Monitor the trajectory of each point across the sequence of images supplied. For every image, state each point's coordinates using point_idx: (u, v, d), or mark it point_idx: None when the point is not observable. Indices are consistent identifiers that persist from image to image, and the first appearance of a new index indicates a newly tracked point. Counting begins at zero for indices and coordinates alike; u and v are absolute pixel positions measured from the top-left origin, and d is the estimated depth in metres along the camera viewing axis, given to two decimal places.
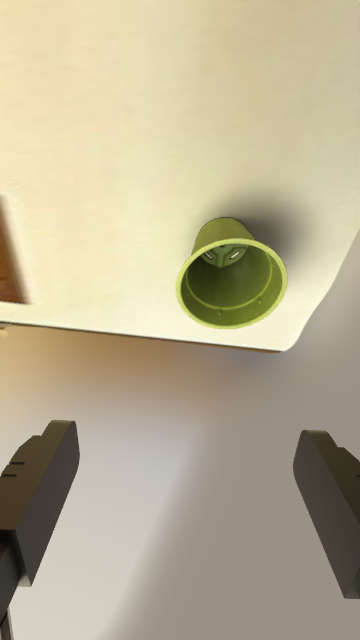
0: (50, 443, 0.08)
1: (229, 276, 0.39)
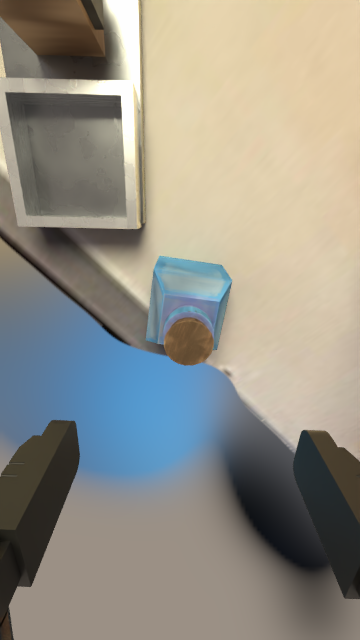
0: (50, 443, 0.08)
1: None
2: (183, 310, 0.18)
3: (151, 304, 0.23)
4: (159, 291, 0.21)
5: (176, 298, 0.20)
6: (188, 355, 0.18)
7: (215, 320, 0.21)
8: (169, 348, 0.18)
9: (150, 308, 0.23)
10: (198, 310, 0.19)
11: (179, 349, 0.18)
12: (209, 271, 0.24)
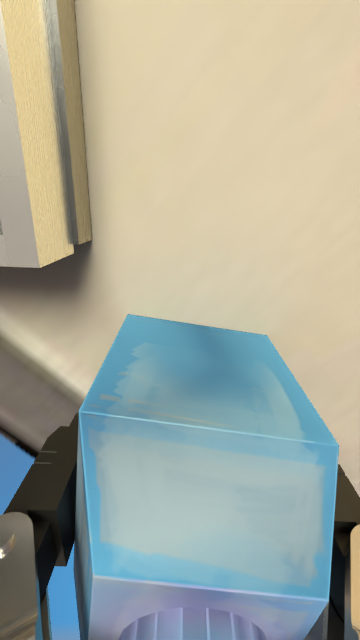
0: None
1: None
2: None
3: (77, 508, 0.07)
4: (85, 520, 0.05)
5: (144, 589, 0.05)
6: None
7: None
8: None
9: (76, 514, 0.07)
10: None
11: None
12: (252, 382, 0.09)
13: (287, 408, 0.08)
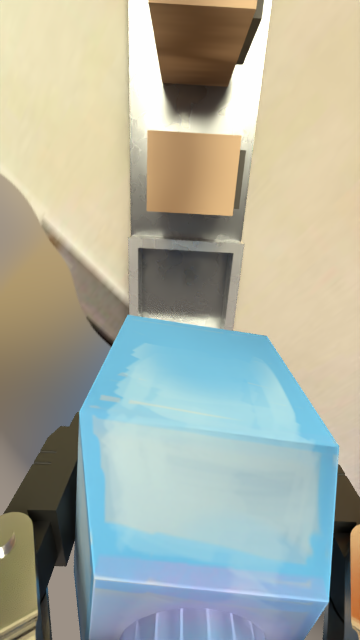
0: None
1: None
2: None
3: (77, 508, 0.07)
4: (85, 520, 0.05)
5: (145, 591, 0.05)
6: None
7: None
8: None
9: (76, 515, 0.07)
10: None
11: None
12: (252, 383, 0.09)
13: (287, 409, 0.08)
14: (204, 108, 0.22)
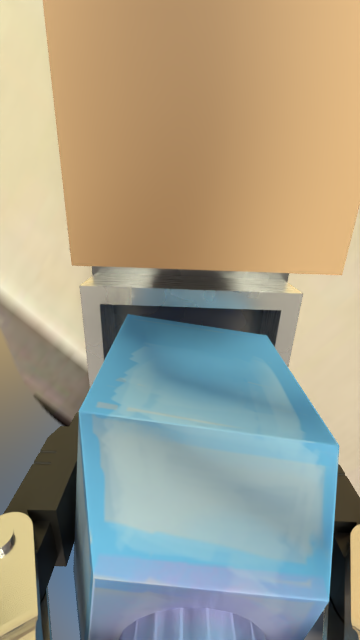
0: None
1: None
2: None
3: (77, 507, 0.07)
4: (85, 520, 0.05)
5: (145, 590, 0.05)
6: None
7: None
8: None
9: (76, 514, 0.07)
10: None
11: None
12: (252, 382, 0.09)
13: (287, 408, 0.08)
14: None
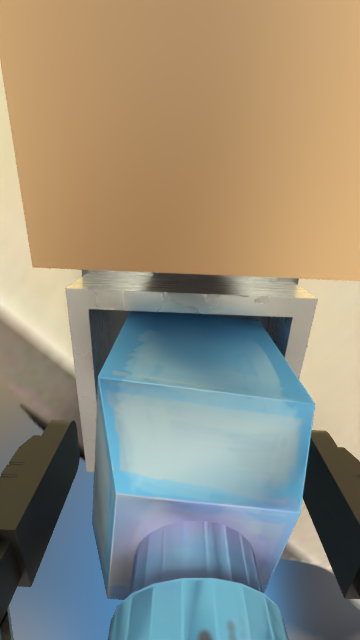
0: (50, 443, 0.08)
1: None
2: (179, 637, 0.04)
3: (96, 461, 0.09)
4: (106, 459, 0.07)
5: (156, 504, 0.06)
6: None
7: (280, 551, 0.07)
8: None
9: (95, 468, 0.09)
10: (239, 605, 0.05)
11: None
12: (244, 358, 0.10)
13: (273, 377, 0.09)
14: None
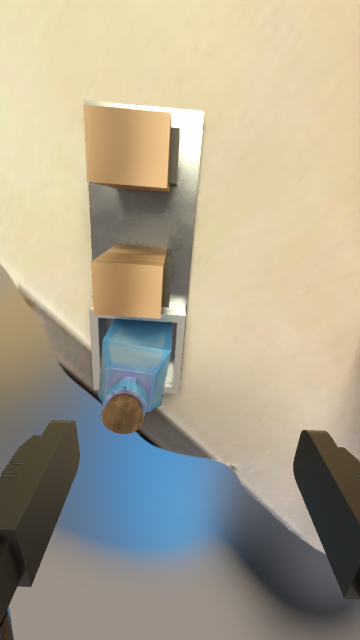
0: (50, 443, 0.08)
1: None
2: (120, 387, 0.22)
3: (101, 369, 0.26)
4: (105, 362, 0.24)
5: (118, 371, 0.23)
6: (122, 426, 0.21)
7: (153, 388, 0.24)
8: (106, 421, 0.21)
9: (100, 372, 0.26)
10: (134, 385, 0.22)
11: (114, 421, 0.21)
12: (155, 337, 0.27)
13: (162, 343, 0.27)
14: (151, 208, 0.27)
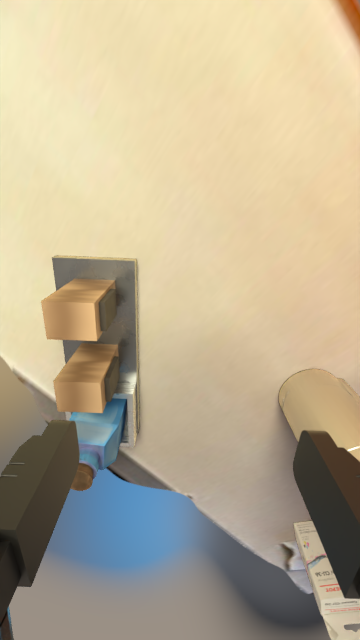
0: (50, 443, 0.08)
1: None
2: None
3: None
4: None
5: None
6: (79, 486, 0.32)
7: (104, 454, 0.34)
8: None
9: None
10: (87, 456, 0.32)
11: (73, 483, 0.31)
12: (109, 411, 0.38)
13: (113, 417, 0.37)
14: None
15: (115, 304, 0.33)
